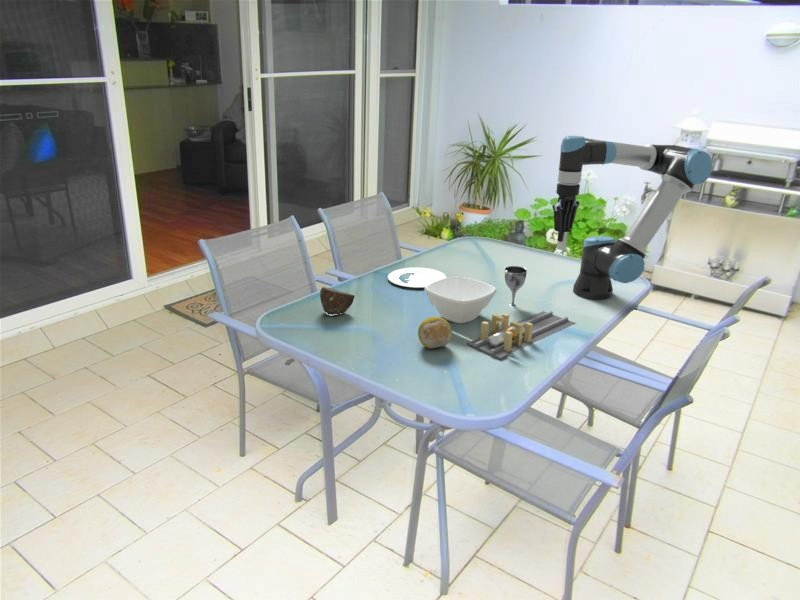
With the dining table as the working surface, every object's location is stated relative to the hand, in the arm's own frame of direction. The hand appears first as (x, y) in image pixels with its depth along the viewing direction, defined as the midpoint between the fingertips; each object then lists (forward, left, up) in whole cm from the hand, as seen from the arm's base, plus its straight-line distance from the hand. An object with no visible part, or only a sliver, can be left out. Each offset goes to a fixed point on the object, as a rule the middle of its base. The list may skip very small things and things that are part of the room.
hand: (561, 249), depth 213 cm
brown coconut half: (+81, -3, -25) cm, 85 cm away
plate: (+47, -38, -25) cm, 65 cm away
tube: (+23, +24, -24) cm, 41 cm away
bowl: (+36, +3, -25) cm, 44 cm away
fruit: (+48, +26, -25) cm, 60 cm away
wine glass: (+14, -6, -25) cm, 29 cm away
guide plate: (+16, +18, -24) cm, 35 cm away
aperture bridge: (+24, +24, -24) cm, 42 cm away
